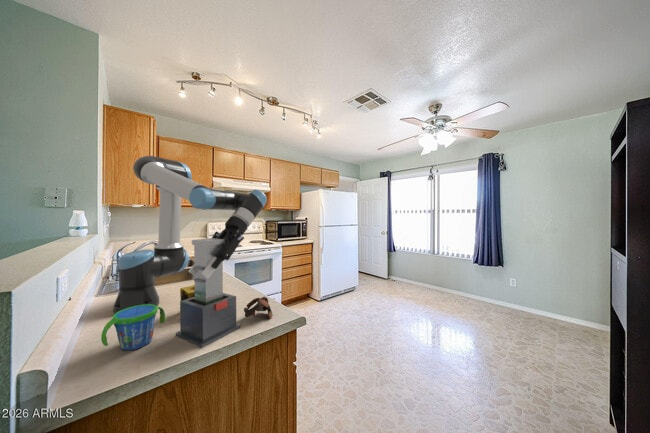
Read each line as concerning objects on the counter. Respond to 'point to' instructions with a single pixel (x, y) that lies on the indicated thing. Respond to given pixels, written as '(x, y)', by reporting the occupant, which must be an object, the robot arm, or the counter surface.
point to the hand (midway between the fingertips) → (198, 274)
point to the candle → (187, 292)
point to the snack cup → (134, 326)
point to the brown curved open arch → (258, 307)
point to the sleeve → (207, 320)
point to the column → (203, 254)
